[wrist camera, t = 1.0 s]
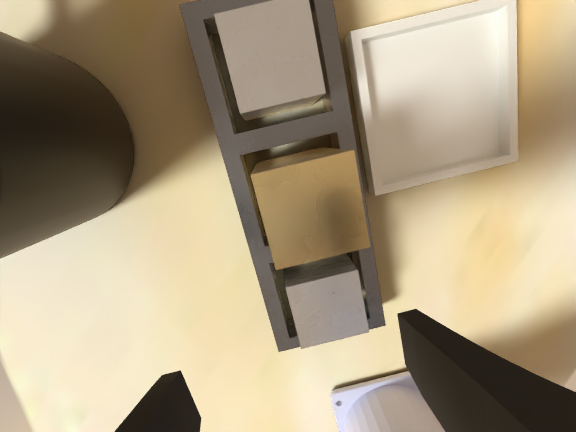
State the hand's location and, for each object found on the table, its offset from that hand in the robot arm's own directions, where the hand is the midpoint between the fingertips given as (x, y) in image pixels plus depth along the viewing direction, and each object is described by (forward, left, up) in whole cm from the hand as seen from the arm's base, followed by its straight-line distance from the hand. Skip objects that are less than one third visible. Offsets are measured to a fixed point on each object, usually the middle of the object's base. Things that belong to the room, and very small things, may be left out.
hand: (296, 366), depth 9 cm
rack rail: (+4, -2, -10) cm, 11 cm away
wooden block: (+4, -2, -10) cm, 11 cm away
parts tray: (+7, -11, -10) cm, 16 cm away
